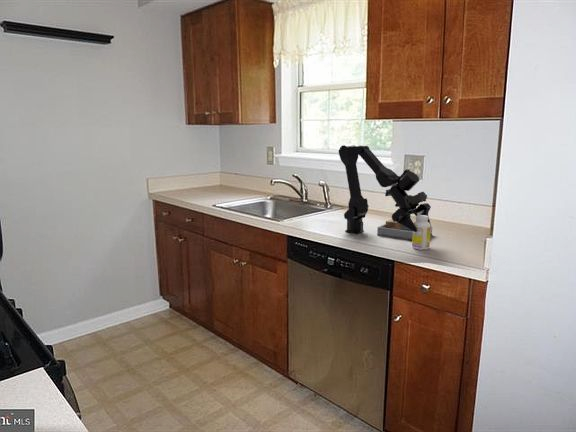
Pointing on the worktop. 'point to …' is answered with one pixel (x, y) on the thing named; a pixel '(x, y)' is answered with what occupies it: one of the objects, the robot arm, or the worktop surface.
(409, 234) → the box
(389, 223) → the walnut cube
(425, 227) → the supplement bottle
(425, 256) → the worktop surface
